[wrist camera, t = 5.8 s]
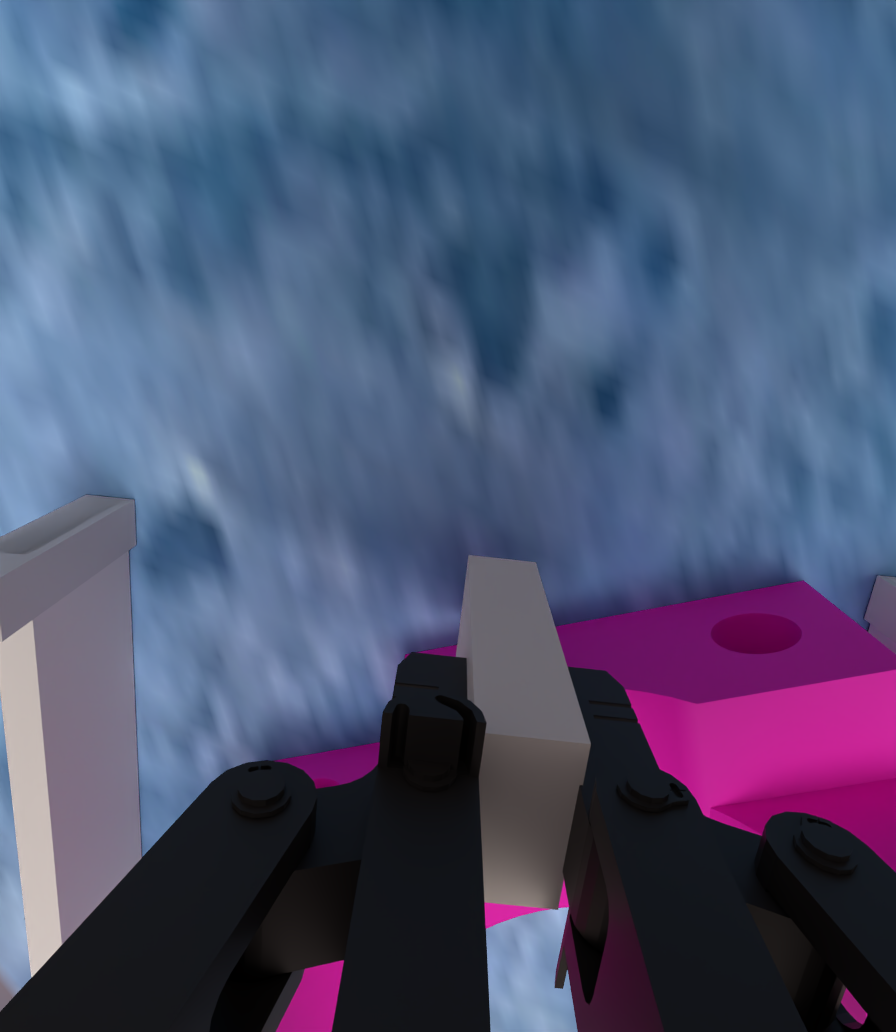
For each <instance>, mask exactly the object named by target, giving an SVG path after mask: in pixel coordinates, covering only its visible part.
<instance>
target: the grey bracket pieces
mask: <svg viewBox="0 0 896 1032" xmlns="http://www.w3.org/2000/svg"><path fill="white" fill-rule="evenodd" d="M134 546H136V525H135V500H133V499H123V498H114V497H104V496H94V495H85V496H83V497H81V498H78V499H76V500H74V501H72V502H70V503H68V504H66V505H64V506H62V507H60V508H58V509H56V510H54V511H52V512H50V513H48V514H46V515H44V516H42V517H40V518H38V519H36V520H34V521H32V522H30V523H28V524H26V525H24V526H22V527H20V528H18V529H16V530H14V531H12V532H10V533H8V534H5V535H3V536H1V537H0V693H1V702H2V711H3V720H4V730H5V739H6V748H7V757H8V766H9V775H10V785H11V794H12V803H13V812H14V821H15V831H16V840H17V849H18V858H19V867H20V876H21V886H22V895H23V904H24V913H25V922H26V931H27V941H28V950H29V959H30V968H31V977H33V976H34V975H35V974H36V972H37V971H38V970H39V969H40V968H41V967H42V966H43V965H44V964H45V963H46V962H47V960H48V959H49V958H50V957H51V956H52V955H53V954H54V953H55V952H56V951H57V950H58V949H59V947H60V946H61V945H62V944H63V943H64V942H65V941H66V940H67V939H68V938H69V937H70V936H71V934H72V933H73V932H74V931H75V930H76V929H77V928H78V927H79V926H80V925H81V924H82V922H83V921H84V920H85V919H86V918H87V917H88V916H89V915H90V914H91V913H92V912H93V911H94V909H95V908H96V907H97V906H98V905H99V904H100V903H101V902H102V901H103V900H104V899H105V897H106V896H107V895H108V894H109V893H110V892H111V891H112V890H113V889H114V888H115V887H116V886H117V884H118V883H119V882H120V881H121V880H122V879H123V878H124V877H125V876H126V875H127V874H128V872H129V871H130V870H131V869H132V868H133V867H134V866H135V865H136V864H137V863H138V862H139V861H140V859H141V858H142V854H141V831H140V807H139V783H138V760H137V736H136V712H135V689H134V665H133V641H132V618H131V594H130V570H129V550H130V549H131V548H133V547H134ZM864 619H865V620H866V621H867V622H869V623H870V627H869V630H868V632H869V633H870V634H871V635H872V636H874V637H875V638H876V639H877V640H879V641H880V642H881V643H882V644H884V645H885V646H886V647H887V648H889V649H890V650H891V651H892V652H894V653H895V654H896V577H889V576H879V575H877V578H876V581H875V585H874V588H873V591H872V594H871V598H870V601H869V604H868V607H867V611H866V614H865V617H864Z"/></svg>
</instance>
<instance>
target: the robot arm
mask: <svg viewBox="0 0 896 1032" xmlns="http://www.w3.org/2000/svg"><path fill="white" fill-rule="evenodd" d="M563 882H565V888H566V893H567V898H568V904H569V910H568V915H567V920H566V925H565V930H564V935H563V939H562V944H561V949H560V954H559V959H558V964H557V968H556V976H555V988H562V989H563V986H564V981H565V977H566V972H567V970H568V974H569V980H570V986H571V992H572V999H573V1005H574V1011H575V1017H576V1023H577V1029H578V1032H896V872H895V871H894V870H893V869H892V868H891V867H890V866H888V865H887V864H886V863H885V862H884V861H883V860H882V859H881V858H880V857H879V856H878V855H877V854H876V853H875V852H874V851H873V850H872V849H871V848H870V847H869V846H867V845H866V844H865V843H864V842H862V841H861V840H860V839H858V838H857V837H856V836H855V835H853V834H852V833H851V832H849V831H848V830H846V829H844V828H842V827H840V826H838V825H836V824H834V823H832V822H831V821H829V820H827V819H824V818H821V817H817V816H814V815H810V814H807V813H800V812H787V811H786V812H783V813H779V814H776V815H772V816H771V818H770V819H769V820H768V822H767V823H766V824H765V827H764V830H763V833H762V836H761V835H757V834H754V833H751V832H748V831H745V830H742V829H739V828H736V827H733V826H730V825H727V824H724V823H721V822H719V821H716V820H714V819H711V818H709V817H706V816H705V815H703V813H702V811H701V809H700V807H699V805H698V802H697V800H696V799H695V797H694V796H693V795H692V793H691V792H690V791H689V789H688V788H687V787H686V786H685V785H684V784H683V783H681V782H680V781H679V780H677V779H676V778H675V777H673V776H672V775H671V774H669V773H666V772H664V771H662V770H660V769H659V767H658V764H657V762H656V760H655V757H654V755H653V753H652V751H651V748H650V746H649V744H648V741H647V739H646V737H645V735H644V732H643V730H642V728H641V725H640V723H638V718H637V716H636V714H635V712H634V709H633V708H631V702H630V700H629V698H628V696H627V693H626V691H625V689H624V687H623V686H622V685H621V684H620V683H619V682H618V681H617V680H615V679H614V678H613V677H612V676H611V675H610V674H609V673H608V672H607V671H605V670H595V669H586V668H576V667H567V663H566V660H565V657H564V654H563V650H562V647H561V644H560V640H559V637H558V634H557V630H556V627H555V624H554V621H553V617H552V614H551V611H550V607H549V604H548V601H547V598H546V594H545V591H544V588H543V584H542V581H541V578H540V575H539V571H538V568H537V565H536V562H529V561H520V560H511V559H502V558H493V557H483V556H474V555H468V563H467V571H466V579H465V587H464V595H463V603H462V611H461V619H460V627H459V635H458V643H457V650H456V657H453V656H444V655H434V654H425V653H416V652H412V653H410V654H409V655H408V656H407V657H406V658H405V659H404V660H403V661H402V662H401V663H400V664H399V665H398V668H397V674H396V680H395V686H394V691H393V698H392V700H390V701H389V702H388V704H387V705H386V707H385V709H384V711H383V715H382V725H381V736H380V747H379V757H378V764H377V765H376V766H375V768H374V769H373V770H372V771H370V772H369V773H367V774H366V775H365V776H363V777H361V778H359V779H357V780H354V781H352V782H350V783H346V784H341V785H337V786H331V787H324V788H316V787H315V783H314V781H313V780H312V779H311V778H310V777H309V775H308V774H307V773H306V772H305V771H304V770H302V769H300V768H297V767H295V766H293V765H291V764H289V763H284V762H277V761H269V760H266V761H258V762H249V763H245V764H242V765H240V766H237V767H234V768H232V769H229V770H227V771H225V772H224V773H223V774H222V775H220V776H219V777H218V778H216V779H215V780H214V781H212V782H211V783H210V784H209V786H208V787H207V788H206V789H205V790H204V791H203V792H202V793H201V794H200V795H199V796H198V798H197V799H196V800H195V801H194V802H193V803H192V804H191V805H190V806H189V807H188V808H187V809H186V811H185V812H184V813H183V814H182V815H181V816H180V817H179V818H178V819H177V820H176V821H175V823H174V824H173V825H172V826H171V827H170V828H169V829H168V830H167V831H166V832H165V833H164V834H163V836H162V837H161V838H160V839H159V840H158V841H157V842H156V843H155V844H154V845H153V846H152V848H151V849H150V850H149V851H148V852H147V853H146V854H145V855H144V856H143V857H142V858H141V859H140V861H139V862H138V863H137V864H136V865H135V866H134V867H133V868H132V869H131V870H130V871H129V872H128V874H127V875H126V876H125V877H124V878H123V879H122V880H121V881H120V882H119V883H118V884H117V886H116V887H115V888H114V889H113V890H112V891H111V892H110V893H109V894H108V895H107V896H106V897H105V899H104V900H103V901H102V902H101V903H100V904H99V905H98V906H97V907H96V908H95V909H94V911H93V912H92V913H91V914H90V915H89V916H88V917H87V918H86V919H85V920H84V921H83V922H82V924H81V925H80V926H79V927H78V928H77V929H76V930H75V931H74V932H73V933H72V934H71V936H70V937H69V938H68V939H67V940H66V941H65V942H64V943H63V944H62V945H61V946H60V947H59V949H58V950H57V951H56V952H55V953H54V954H53V955H52V956H51V957H50V958H49V959H48V960H47V962H46V963H45V964H44V965H43V966H42V967H41V968H40V969H39V970H38V971H37V972H36V974H35V975H34V976H33V977H32V978H31V979H30V980H29V981H28V982H27V983H26V984H25V985H24V987H23V988H22V989H21V990H20V991H19V992H18V993H17V994H16V995H15V996H14V997H13V999H12V1000H11V1001H10V1002H9V1003H8V1004H7V1005H6V1006H5V1007H4V1008H3V1009H2V1010H1V1012H0V1032H276V1030H277V1028H278V1026H279V1024H280V1022H281V1020H282V1018H283V1016H284V1014H285V1012H286V1010H287V1008H288V1006H289V1004H290V1002H291V1000H292V998H293V996H294V994H295V992H296V990H297V988H298V986H299V984H300V982H301V980H302V977H303V974H304V970H305V969H306V968H311V967H315V966H320V965H324V964H329V963H333V962H338V961H342V960H344V963H343V969H342V975H341V980H340V986H339V992H338V998H337V1003H336V1009H335V1015H334V1021H333V1026H332V1032H490V1011H489V990H488V968H487V946H486V925H485V903H484V902H486V903H496V904H506V905H516V906H526V907H536V908H545V909H555V910H558V907H559V902H560V897H561V892H562V887H563ZM846 988H847V989H848V991H849V992H850V993H851V994H852V996H853V997H854V998H855V999H856V1001H857V1002H858V1003H859V1004H860V1006H861V1007H862V1008H863V1009H864V1011H865V1012H866V1013H867V1017H866V1019H865V1022H864V1023H863V1024H861V1023H859V1022H857V1021H856V1020H855V1019H854V1017H853V1016H852V1015H851V1014H850V1013H849V1012H848V1011H847V1010H846V1008H845V1007H844V1006H843V1005H842V1003H841V1001H842V998H843V995H844V993H845V990H846Z"/></svg>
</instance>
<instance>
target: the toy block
mask: <svg viewBox="0 0 896 1032" xmlns="http://www.w3.org/2000/svg"><path fill="white" fill-rule="evenodd" d="M555 627H556V630H557V634H558V637H559V640H560V644H561V647H562V650H563V654H564V657H565V660H566V663H567V667H576V668H586V669H595V670H605V671H607V672H608V673H609V674H610V675H611V676H612V677H613V678H614V679H615V680H617V681H618V682H619V683H620V684H621V685H622V686H623V687H624V689H625V691H626V693H627V696H628V698H629V700H630V702H631V708H633V709H634V712H635V714H636V716H637V718H638V723H640V725H641V728H642V730H643V732H644V735H645V737H646V739H647V741H648V744H649V746H650V748H651V751H652V753H653V755H654V757H655V760H656V762H657V764H658V767H659V769H660V770H662V771H664V772H666V773H669V774H671V775H672V776H673V777H675V778H676V779H677V780H679V781H680V782H681V783H683V784H684V785H685V786H686V787H687V788H688V789H689V791H690V792H691V793H692V795H693V796H694V797H695V799H696V800H697V802H698V805H699V807H700V809H701V811H702V813H703V815H705V816H706V817H709V818H711V819H714V820H716V821H719V822H721V823H724V824H727V825H730V826H733V827H736V828H739V829H742V830H745V831H748V832H751V833H754V834H757V835H761V836H762V833H763V830H764V827H765V824H766V823H767V822H768V820H769V819H770V818H771V816H772V815H776V814H779V813H783V812H786V811H787V812H800V813H807V814H810V815H814V816H817V817H821V818H824V819H827V820H829V821H831V822H832V823H834V824H836V825H838V826H840V827H842V828H844V829H846V830H848V831H849V832H851V833H852V834H853V835H855V836H856V837H857V838H858V839H860V840H861V841H862V842H864V843H865V844H866V845H867V846H869V847H870V848H871V849H872V850H873V851H874V852H875V853H876V854H877V855H878V856H879V857H880V858H881V859H882V860H883V861H884V862H885V863H886V864H887V865H888V866H890V867H891V868H892V869H893V870H894V871H895V872H896V654H895V653H894V652H892V651H891V650H890V649H889V648H887V647H886V646H885V645H884V644H882V643H881V642H880V641H879V640H877V639H876V638H875V637H874V636H872V635H871V634H870V633H869V632H867V631H866V630H865V629H864V628H862V627H861V626H860V625H859V624H857V623H856V622H855V621H854V620H852V619H851V618H850V617H849V616H847V615H846V614H845V613H844V612H842V611H841V610H840V609H839V608H837V607H836V606H835V605H834V604H832V603H831V602H830V601H829V600H827V599H826V598H825V597H824V596H822V595H821V594H820V593H819V592H817V591H816V590H815V589H814V588H812V587H811V586H810V585H809V584H807V583H806V582H805V581H804V580H803V581H798V582H793V583H787V584H782V585H777V586H771V587H766V588H760V589H755V590H750V591H744V592H739V593H733V594H728V595H723V596H717V597H712V598H706V599H701V600H696V601H690V602H685V603H679V604H674V605H669V606H663V607H658V608H653V609H647V610H642V611H636V612H631V613H626V614H620V615H615V616H609V617H604V618H599V619H593V620H588V621H582V622H577V623H572V624H566V625H561V626H555ZM456 650H457V645H453V646H448V647H442V648H437V649H431V650H426V651H421V652H416V653H425V654H434V655H444V656H453V657H456ZM408 655H409V654H405V658H406V657H407V656H408ZM405 658H404V659H405ZM379 747H380V742H378V743H373V744H367V745H361V746H355V747H350V748H344V749H338V750H332V751H327V752H321V753H315V754H310V755H304V756H298V757H292V758H287V759H281V760H275V761H277V762H284V763H289V764H291V765H293V766H295V767H297V768H300V769H302V770H304V771H305V772H306V773H307V774H308V775H309V777H310V778H311V779H312V780H313V781H314V783H315V787H316V788H324V787H331V786H337V785H341V784H346V783H350V782H352V781H354V780H357V779H359V778H361V777H363V776H365V775H366V774H367V773H369V772H370V771H372V770H373V769H374V768H375V766H376V765H377V764H378V757H379ZM484 903H485V925H486V928H489V927H491V926H493V925H495V924H498V923H500V922H503V921H506V920H509V919H512V918H515V917H518V916H521V915H525V914H529V913H533V912H537V911H542V910H549V909H545V908H536V907H526V906H516V905H506V904H496V903H486V902H484ZM562 907H569V904H568V898H567V893H566V888H565V882H563V887H562V892H561V897H560V902H559V907H558V908H562ZM343 963H344V960H342V961H338V962H333V963H329V964H324V965H320V966H315V967H311V968H306V969H305V970H304V974H303V977H302V980H301V982H300V984H299V986H298V988H297V990H296V992H295V994H294V996H293V998H292V1000H291V1002H290V1004H289V1006H288V1008H287V1010H286V1012H285V1014H284V1016H283V1018H282V1020H281V1022H280V1024H279V1026H278V1028H277V1030H276V1032H332V1026H333V1021H334V1015H335V1009H336V1003H337V998H338V992H339V986H340V980H341V975H342V969H343ZM841 1003H842V1005H843V1006H844V1007H845V1008H846V1010H847V1011H848V1012H849V1013H850V1014H851V1015H852V1016H853V1017H854V1019H855V1020H856V1021H857V1022H859V1023H861V1024H863V1023H864V1022H865V1019H866V1017H867V1013H866V1012H865V1011H864V1009H863V1008H862V1007H861V1006H860V1004H859V1003H858V1002H857V1001H856V999H855V998H854V997H853V996H852V994H851V993H850V992H849V991H848V989H847V988H846V990H845V993H844V995H843V998H842V1001H841Z"/></svg>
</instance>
